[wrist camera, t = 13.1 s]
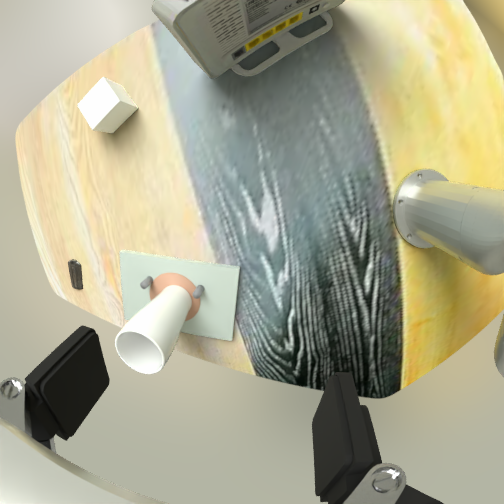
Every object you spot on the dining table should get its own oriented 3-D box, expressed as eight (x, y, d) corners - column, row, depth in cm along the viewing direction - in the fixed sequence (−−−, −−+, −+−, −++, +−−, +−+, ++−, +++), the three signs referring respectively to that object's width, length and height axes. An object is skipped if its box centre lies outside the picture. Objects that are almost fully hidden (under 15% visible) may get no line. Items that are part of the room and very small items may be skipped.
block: (76, 284, 47) (70, 287, 45) (70, 256, 45) (64, 259, 43) (87, 287, 46) (81, 291, 45) (82, 259, 44) (75, 262, 43)
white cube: (98, 110, 36) (77, 105, 30) (122, 85, 35) (103, 76, 29) (113, 133, 37) (92, 130, 31) (139, 108, 36) (120, 100, 30)
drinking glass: (158, 275, 42) (111, 322, 27) (199, 284, 41) (165, 338, 27) (157, 311, 44) (116, 365, 29) (195, 321, 43) (165, 381, 29)
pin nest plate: (240, 266, 42) (237, 275, 38) (232, 337, 45) (229, 349, 42) (123, 249, 42) (111, 256, 39) (127, 316, 46) (118, 326, 43)
